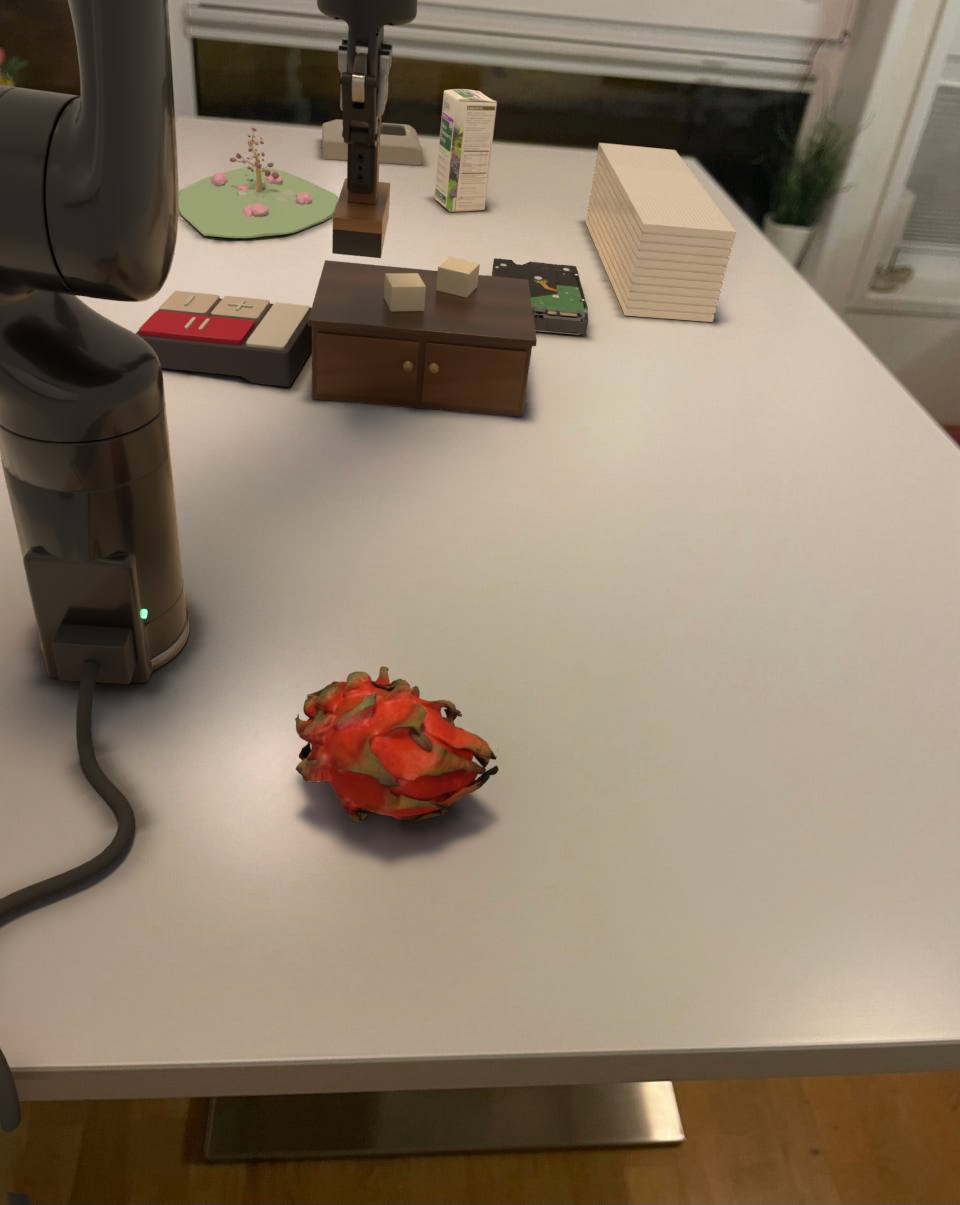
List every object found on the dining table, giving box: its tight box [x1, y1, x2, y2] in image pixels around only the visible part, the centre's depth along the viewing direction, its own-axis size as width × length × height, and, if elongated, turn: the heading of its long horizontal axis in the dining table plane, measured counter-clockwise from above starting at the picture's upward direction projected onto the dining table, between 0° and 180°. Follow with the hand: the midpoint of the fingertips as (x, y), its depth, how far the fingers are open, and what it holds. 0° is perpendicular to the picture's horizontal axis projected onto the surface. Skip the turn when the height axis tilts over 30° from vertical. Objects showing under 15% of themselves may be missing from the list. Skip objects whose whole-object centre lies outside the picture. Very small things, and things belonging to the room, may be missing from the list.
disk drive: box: [491, 257, 589, 336], centre depth 118 cm, size 10×3×15 cm
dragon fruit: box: [294, 665, 500, 823], centre depth 58 cm, size 8×8×12 cm
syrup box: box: [434, 88, 498, 213], centre depth 140 cm, size 6×6×14 cm
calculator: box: [135, 290, 312, 387], centre depth 100 cm, size 11×4×15 cm
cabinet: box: [308, 259, 538, 417], centre depth 99 cm, size 15×21×8 cm
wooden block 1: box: [384, 273, 426, 312], centre depth 94 cm, size 3×3×2 cm
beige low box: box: [321, 118, 423, 166], centre depth 158 cm, size 10×4×15 cm
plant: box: [178, 127, 338, 239], centre depth 132 cm, size 25×21×9 cm
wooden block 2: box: [436, 256, 480, 298], centre depth 99 cm, size 3×3×2 cm
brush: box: [331, 120, 391, 259], centre depth 85 cm, size 10×4×9 cm, turn 0°
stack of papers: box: [585, 142, 737, 323], centre depth 129 cm, size 32×11×11 cm, turn 4°
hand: (362, 185), depth 85 cm, fingers closed on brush, 2 cm apart
